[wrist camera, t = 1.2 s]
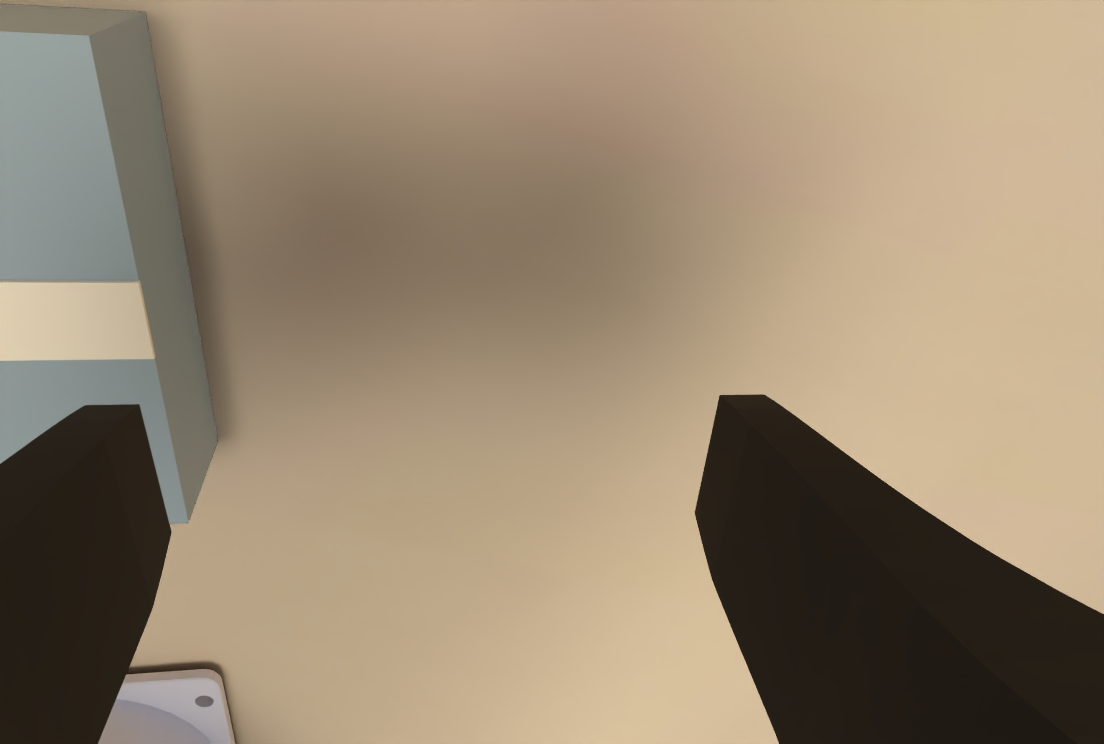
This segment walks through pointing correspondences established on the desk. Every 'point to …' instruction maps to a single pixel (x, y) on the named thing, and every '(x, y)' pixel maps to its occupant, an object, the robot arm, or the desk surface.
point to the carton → (95, 243)
